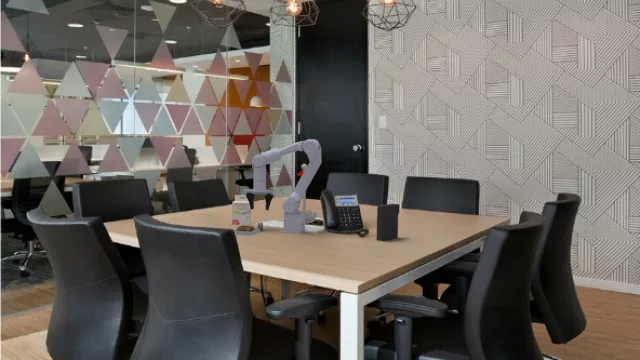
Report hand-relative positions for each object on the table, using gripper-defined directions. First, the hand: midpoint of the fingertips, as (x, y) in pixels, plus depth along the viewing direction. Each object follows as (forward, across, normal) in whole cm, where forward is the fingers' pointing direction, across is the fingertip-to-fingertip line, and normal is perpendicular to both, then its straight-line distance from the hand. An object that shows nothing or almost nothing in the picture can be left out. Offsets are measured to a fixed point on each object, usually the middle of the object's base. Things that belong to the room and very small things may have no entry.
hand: (259, 209), depth 261 cm
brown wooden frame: (+9, -2, -11) cm, 14 cm away
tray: (+10, -2, -10) cm, 15 cm away
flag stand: (+10, +11, +31) cm, 34 cm away
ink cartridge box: (+10, -15, +12) cm, 22 cm away
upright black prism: (+10, +60, 0) cm, 61 cm away
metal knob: (+10, +1, -2) cm, 10 cm away
